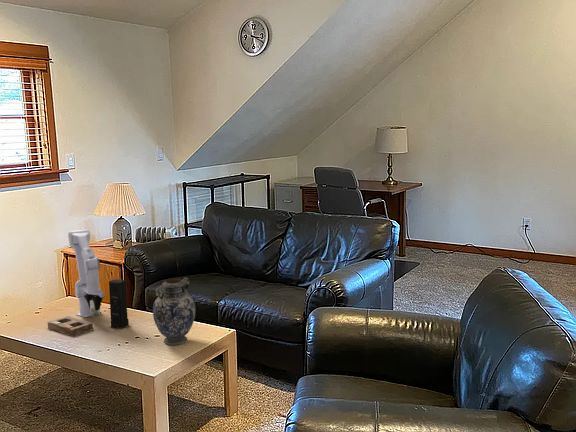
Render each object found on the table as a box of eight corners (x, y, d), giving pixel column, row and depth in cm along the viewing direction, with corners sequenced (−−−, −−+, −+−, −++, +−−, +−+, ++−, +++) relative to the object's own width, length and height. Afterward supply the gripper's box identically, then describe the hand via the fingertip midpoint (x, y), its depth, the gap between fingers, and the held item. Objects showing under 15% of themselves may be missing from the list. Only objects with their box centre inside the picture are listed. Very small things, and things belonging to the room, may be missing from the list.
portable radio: (108, 327, 274) (105, 276, 270) (116, 323, 279) (113, 273, 276) (121, 329, 271) (118, 278, 267) (129, 325, 276) (126, 275, 273)
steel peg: (95, 313, 283) (94, 297, 282) (101, 314, 281) (100, 299, 279) (89, 315, 280) (88, 299, 278) (94, 317, 277) (93, 301, 276)
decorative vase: (174, 330, 268) (172, 272, 263) (206, 336, 259) (204, 277, 255) (142, 345, 249) (140, 283, 245) (176, 353, 241) (174, 289, 236)
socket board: (68, 321, 283) (67, 315, 282) (93, 329, 271) (92, 322, 271) (47, 328, 274) (47, 321, 274) (72, 336, 263) (72, 329, 262)
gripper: (109, 282, 277) (110, 309, 279) (90, 278, 285) (92, 304, 287) (96, 285, 271) (98, 313, 273) (78, 281, 279) (80, 308, 281)
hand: (94, 309), depth 280 cm, fingers closed on steel peg, 4 cm apart
